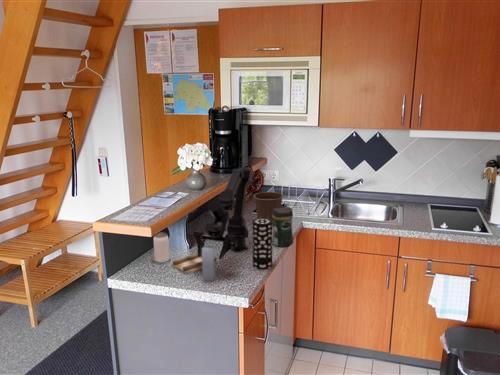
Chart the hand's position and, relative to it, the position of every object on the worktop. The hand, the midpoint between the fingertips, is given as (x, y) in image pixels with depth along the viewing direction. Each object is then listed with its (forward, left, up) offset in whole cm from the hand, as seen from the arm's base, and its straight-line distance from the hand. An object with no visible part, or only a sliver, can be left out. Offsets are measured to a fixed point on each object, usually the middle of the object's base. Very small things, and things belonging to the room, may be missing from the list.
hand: (209, 257), depth 169 cm
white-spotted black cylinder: (-24, +5, -9) cm, 26 cm away
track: (-2, -15, -9) cm, 17 cm away
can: (+6, -29, -9) cm, 30 cm away
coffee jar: (-48, -7, -9) cm, 49 cm away
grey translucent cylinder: (+1, 0, -9) cm, 9 cm away
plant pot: (-64, -35, -9) cm, 73 cm away
